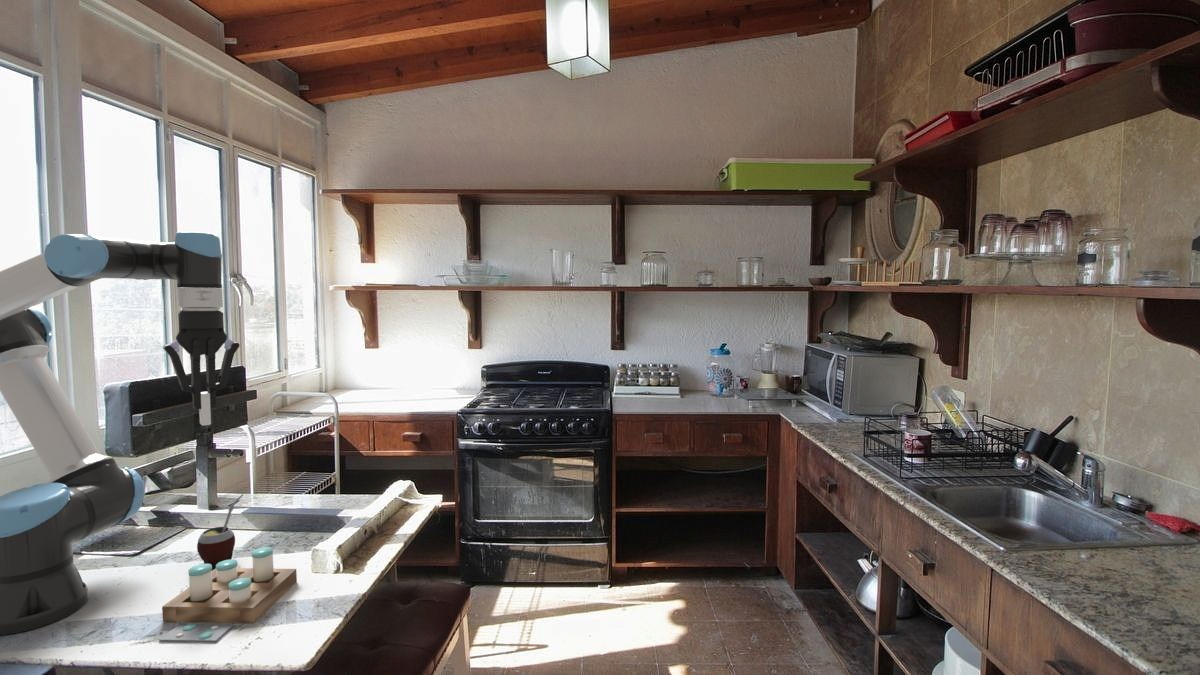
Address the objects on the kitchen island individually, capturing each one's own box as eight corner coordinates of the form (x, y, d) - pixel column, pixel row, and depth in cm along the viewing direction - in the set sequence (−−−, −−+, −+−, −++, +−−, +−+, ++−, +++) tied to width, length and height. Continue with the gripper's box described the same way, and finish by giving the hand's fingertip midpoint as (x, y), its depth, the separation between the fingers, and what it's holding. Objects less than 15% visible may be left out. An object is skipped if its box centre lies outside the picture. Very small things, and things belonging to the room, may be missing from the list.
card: (159, 641, 101) (159, 638, 101) (180, 625, 106) (180, 622, 106) (215, 642, 101) (215, 639, 101) (234, 626, 106) (234, 623, 106)
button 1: (185, 601, 109) (183, 572, 108) (198, 591, 112) (197, 563, 112) (204, 601, 108) (203, 573, 108) (217, 591, 112) (216, 563, 112)
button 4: (249, 581, 116) (247, 555, 115) (259, 572, 120) (258, 546, 119) (267, 582, 116) (266, 555, 115) (277, 573, 120) (276, 547, 119)
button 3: (225, 615, 109) (223, 587, 108) (237, 605, 112) (236, 577, 112) (244, 616, 109) (243, 587, 108) (256, 605, 112) (255, 577, 112)
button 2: (212, 594, 116) (211, 567, 116) (224, 585, 120) (223, 559, 119) (230, 594, 116) (229, 568, 116) (242, 585, 120) (241, 559, 119)
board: (162, 622, 107) (162, 606, 107) (217, 581, 122) (216, 567, 122) (253, 623, 107) (253, 607, 107) (296, 582, 122) (296, 568, 121)
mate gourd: (190, 573, 125) (187, 506, 124) (213, 556, 133) (211, 493, 132) (225, 573, 126) (222, 506, 124) (246, 556, 133) (244, 493, 132)
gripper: (163, 310, 109) (169, 432, 111) (242, 309, 118) (246, 422, 120) (158, 309, 114) (163, 425, 116) (233, 308, 123) (237, 416, 125)
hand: (205, 423), depth 118 cm, fingers closed
